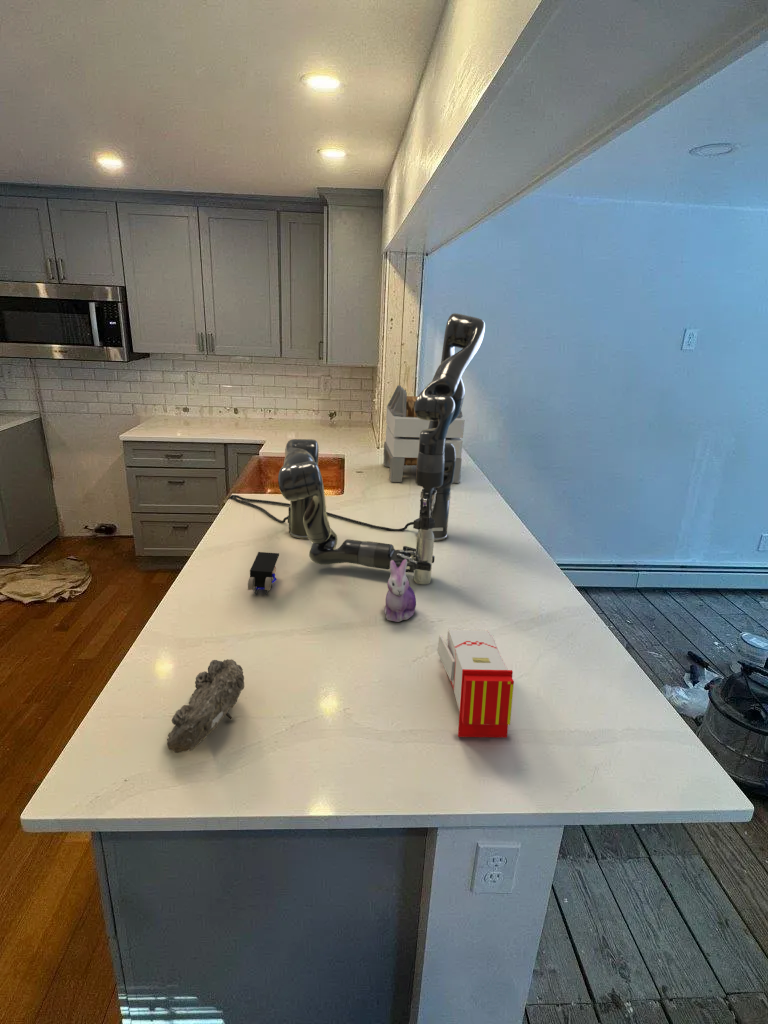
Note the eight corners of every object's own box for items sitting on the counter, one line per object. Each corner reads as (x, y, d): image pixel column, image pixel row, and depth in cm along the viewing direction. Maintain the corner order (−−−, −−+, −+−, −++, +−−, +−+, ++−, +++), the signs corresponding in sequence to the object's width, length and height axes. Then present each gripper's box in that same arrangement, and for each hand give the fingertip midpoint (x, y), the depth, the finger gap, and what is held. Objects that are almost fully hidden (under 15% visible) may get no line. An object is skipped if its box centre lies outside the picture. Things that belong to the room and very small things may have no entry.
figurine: (392, 627, 141) (395, 572, 136) (374, 608, 149) (376, 556, 144) (425, 619, 145) (429, 566, 140) (405, 601, 154) (408, 550, 149)
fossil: (192, 660, 117) (244, 628, 112) (224, 691, 120) (276, 661, 115) (142, 746, 98) (202, 712, 93) (182, 779, 101) (242, 748, 96)
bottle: (413, 583, 164) (417, 524, 158) (413, 576, 169) (418, 518, 162) (430, 585, 164) (435, 525, 158) (430, 577, 168) (435, 519, 162)
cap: (415, 524, 161) (416, 517, 161) (429, 522, 163) (430, 516, 163) (422, 529, 158) (423, 523, 157) (437, 528, 159) (437, 521, 159)
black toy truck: (272, 602, 153) (280, 572, 166) (271, 579, 149) (279, 550, 163) (247, 602, 152) (257, 572, 166) (245, 578, 149) (256, 549, 162)
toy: (488, 613, 130) (523, 677, 101) (484, 667, 133) (517, 744, 104) (435, 612, 130) (455, 676, 101) (432, 666, 133) (451, 743, 103)
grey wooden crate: (382, 463, 289) (386, 382, 275) (445, 464, 293) (451, 384, 279) (390, 482, 257) (394, 392, 243) (460, 483, 261) (468, 394, 247)
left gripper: (369, 552, 160) (429, 561, 156) (382, 534, 173) (437, 542, 169) (368, 576, 162) (427, 585, 158) (381, 557, 175) (435, 565, 171)
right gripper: (440, 476, 147) (435, 537, 153) (447, 462, 161) (442, 519, 166) (412, 473, 149) (408, 533, 155) (420, 460, 162) (417, 516, 168)
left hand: (432, 563), depth 164 cm, fingers closed on bottle, 5 cm apart
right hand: (426, 526), depth 160 cm, fingers closed on cap, 4 cm apart
